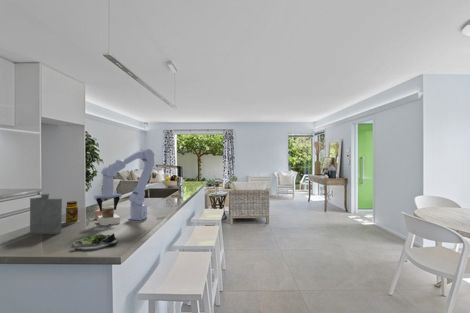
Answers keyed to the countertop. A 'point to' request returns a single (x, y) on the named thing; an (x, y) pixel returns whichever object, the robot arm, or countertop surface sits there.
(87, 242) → the salad plate
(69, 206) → the condiment
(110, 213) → the walnut cube
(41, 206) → the hip flask
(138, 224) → the countertop surface
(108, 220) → the base block
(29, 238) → the countertop surface
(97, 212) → the terracotta block
